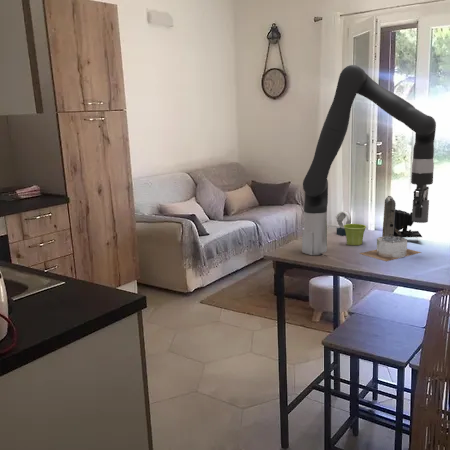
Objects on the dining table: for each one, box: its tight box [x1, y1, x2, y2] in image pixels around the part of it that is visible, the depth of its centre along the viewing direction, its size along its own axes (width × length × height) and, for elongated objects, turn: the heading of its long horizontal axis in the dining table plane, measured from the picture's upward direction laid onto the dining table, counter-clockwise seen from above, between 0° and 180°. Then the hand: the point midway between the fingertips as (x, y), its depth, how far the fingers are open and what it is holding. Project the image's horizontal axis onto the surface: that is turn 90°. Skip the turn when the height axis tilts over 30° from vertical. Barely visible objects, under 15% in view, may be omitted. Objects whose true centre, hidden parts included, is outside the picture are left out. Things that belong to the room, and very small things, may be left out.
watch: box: [335, 210, 352, 237], centre depth 234 cm, size 6×8×11 cm
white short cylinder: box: [376, 236, 408, 259], centre depth 195 cm, size 11×11×6 cm
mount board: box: [358, 248, 423, 262], centre depth 198 cm, size 20×14×1 cm
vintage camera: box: [381, 195, 423, 243], centre depth 215 cm, size 10×16×20 cm, turn 79°
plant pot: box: [343, 223, 367, 246], centre depth 213 cm, size 9×9×9 cm
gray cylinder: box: [411, 199, 430, 224], centre depth 186 cm, size 6×6×8 cm
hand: (420, 215), depth 187 cm, fingers closed on gray cylinder, 5 cm apart
